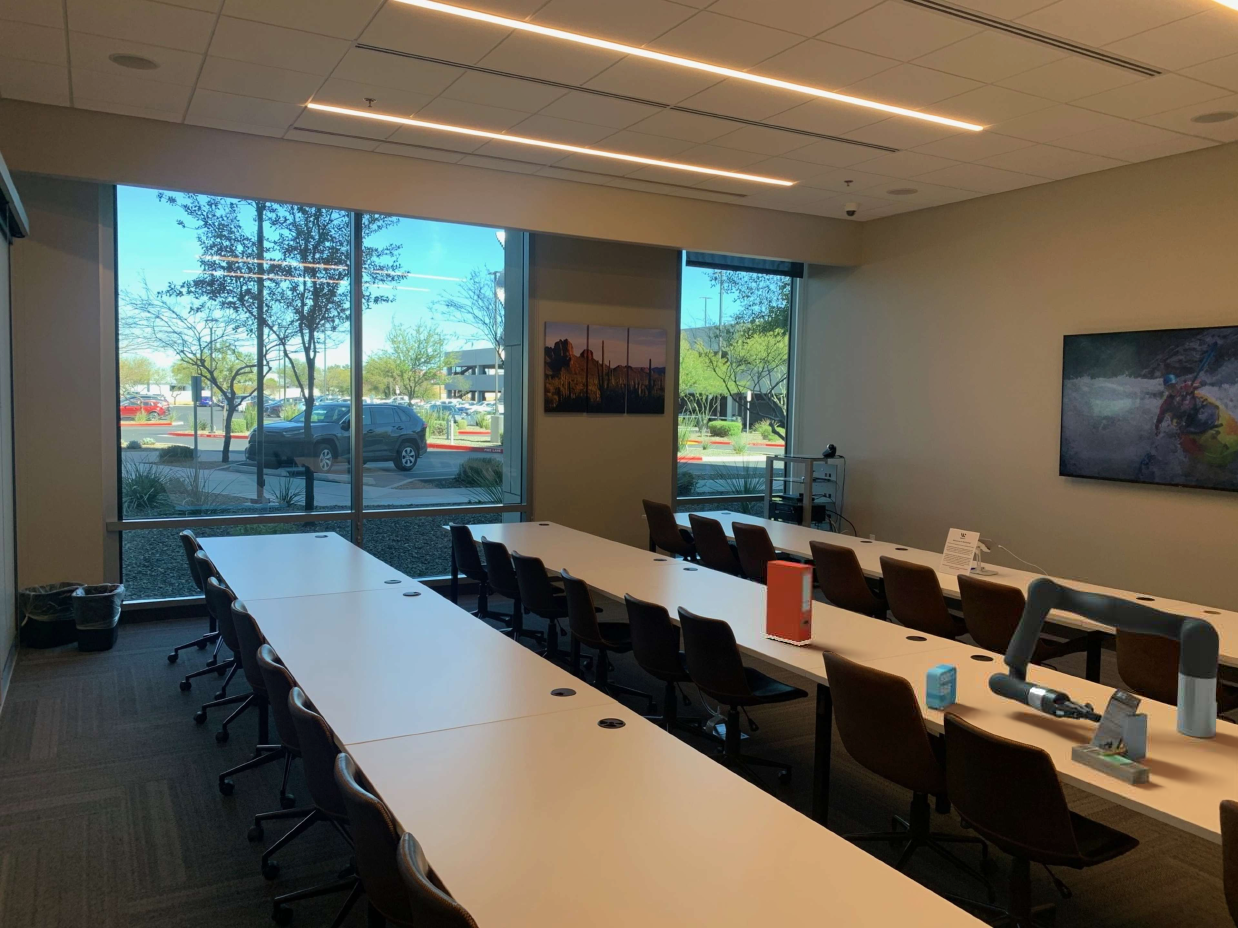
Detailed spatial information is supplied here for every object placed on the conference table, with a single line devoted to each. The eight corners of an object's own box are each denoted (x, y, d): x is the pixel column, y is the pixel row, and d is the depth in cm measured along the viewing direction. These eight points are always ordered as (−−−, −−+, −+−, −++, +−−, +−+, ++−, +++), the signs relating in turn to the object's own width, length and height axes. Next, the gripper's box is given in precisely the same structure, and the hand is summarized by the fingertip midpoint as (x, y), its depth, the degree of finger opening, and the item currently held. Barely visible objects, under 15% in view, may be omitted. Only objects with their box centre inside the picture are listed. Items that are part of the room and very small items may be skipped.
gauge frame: (1087, 756, 242) (1088, 743, 242) (1148, 781, 225) (1149, 767, 225) (1071, 759, 240) (1071, 745, 239) (1132, 785, 223) (1132, 770, 223)
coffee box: (1096, 736, 251) (1118, 687, 247) (1120, 749, 247) (1143, 698, 243) (1087, 745, 244) (1110, 694, 240) (1112, 758, 240) (1136, 707, 236)
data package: (938, 710, 279) (939, 673, 278) (925, 707, 282) (926, 670, 282) (956, 702, 287) (957, 665, 287) (942, 699, 291) (943, 662, 290)
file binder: (778, 635, 374) (780, 559, 372) (811, 643, 361) (812, 565, 359) (765, 638, 369) (767, 561, 367) (798, 646, 356) (799, 567, 354)
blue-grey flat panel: (1140, 756, 239) (1142, 712, 239) (1145, 758, 238) (1147, 714, 237) (1098, 764, 233) (1100, 719, 233) (1103, 766, 232) (1105, 721, 231)
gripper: (1032, 690, 260) (1082, 708, 244) (1066, 686, 265) (1117, 702, 249) (1031, 716, 260) (1082, 735, 244) (1065, 710, 265) (1117, 729, 249)
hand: (1100, 718), depth 247 cm, fingers closed
